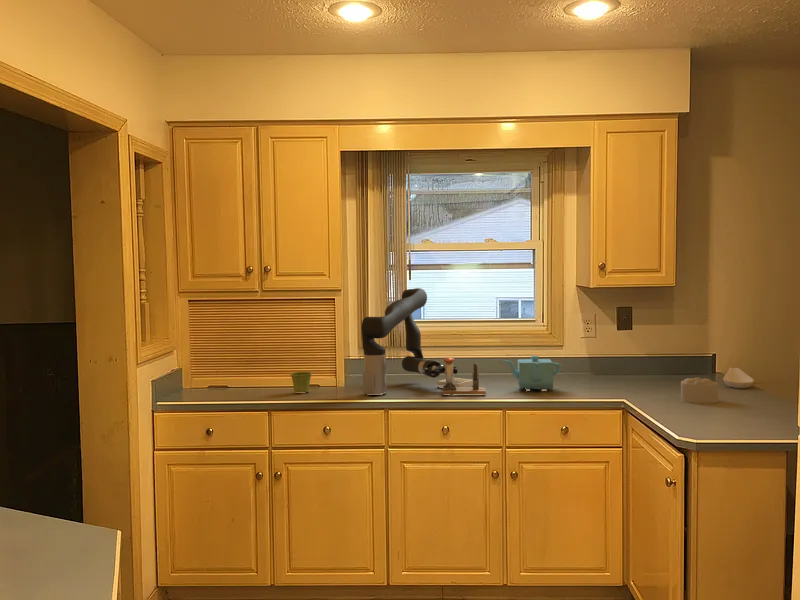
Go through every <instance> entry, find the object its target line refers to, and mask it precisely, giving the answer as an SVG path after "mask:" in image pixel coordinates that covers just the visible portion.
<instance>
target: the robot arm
mask: <svg viewBox="0 0 800 600" xmlns="http://www.w3.org/2000/svg"><path fill="white" fill-rule="evenodd" d="M427 301H428V294H427V292H426V290H425V289H423V288H421V287H416V288H408V289H405V290H403V291H402V294H401V298H400V299H398V300H395V301H393V302H392V303H390V304H389V305H388V306H387V307H386V308H385V310H384V316H364V318H363V319H362V321H361V341H362V342H361V343H362V349H363V367H364V369H363V371H364V372H362V392H363V393H364V394H380V393H384V392H386V393H387V371H386V370H387V367H386V365H387V364H386V348H385V346H383V345H380V344H378V342H376V339H384V338H386V337H387V336H388V335H389V334H390V333H391V332H392V331H393V330H394V328H396V327H397V326H398V325H399V324H400V323H402V322H403V321H404V325H405V326H404V328H405V350H406V351H408V352H410V353H411V354H413V355H414V356H411V355H407V356H405V357H404V358H403V359H402V361H401V367H402V369H403V370H404V371H405V372H409V373H410V372H411V373H418V374H420V375H423V376H426V377H430V378H437V377H439V376H440V375H446V369H445V365H443V364H441V363H440V362H439V361H438V360H436V359H435V360H434V359H429V358H424V355H423V350H422V347H421V345H422V341H421V340H422V337H421V331H420V328H419V327H418V325H417V323H416V322H415V320H414V318H413V313H414V312H416V311H417V310H419V309H421V308H423V307H425V305H426V303H427ZM457 374H458V368H457V366H454V365H453V375H457ZM363 393H362V394H363Z"/></svg>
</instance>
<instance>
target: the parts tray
mask: <svg viewBox="0 0 800 600" xmlns="http://www.w3.org/2000/svg"><path fill="white" fill-rule="evenodd" d="M453 381H458V382H461V383H454V382H453V385H456V387H463V386H467V385H470V384H473V379H468V378H459V377H453ZM436 385H444V386H446V378H445V379H441V380H437V383H436Z"/></svg>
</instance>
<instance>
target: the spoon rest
mask: <svg viewBox="0 0 800 600" xmlns="http://www.w3.org/2000/svg"><path fill="white" fill-rule="evenodd" d="M722 379H723V382H724V383H725V384H726V385H727V386H728V387H730V388H731V387H733V389H741V388H742V389H747V388H749V387H751V386H752V385H753V384H754V382H755V379H754V378H752V376H750V375H749V374H747V373H746V372H745V371H743V370H742V369H741V368H739V367H729V368H728V371H727V373H725V375H724V377H723V378H722Z"/></svg>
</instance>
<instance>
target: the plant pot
mask: <svg viewBox="0 0 800 600" xmlns="http://www.w3.org/2000/svg"><path fill="white" fill-rule="evenodd" d="M312 374H313V373H312V372H311V371H299V372H298V371H297V372H291V373H290V377H291V379H292V385H293V391H295V392H308V391H310V382H311V377H312ZM295 392H294V393H295Z"/></svg>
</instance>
